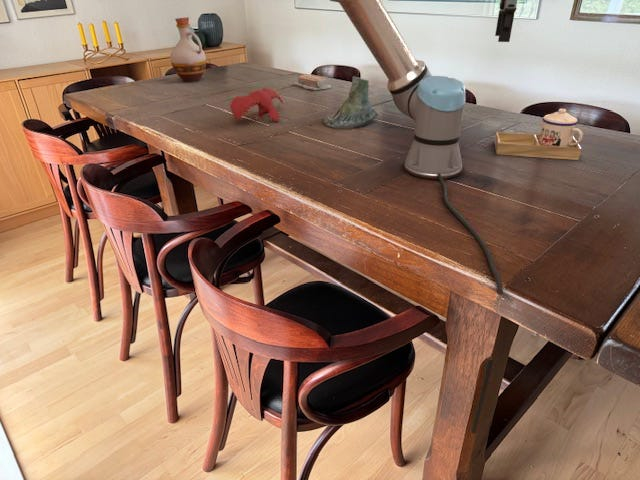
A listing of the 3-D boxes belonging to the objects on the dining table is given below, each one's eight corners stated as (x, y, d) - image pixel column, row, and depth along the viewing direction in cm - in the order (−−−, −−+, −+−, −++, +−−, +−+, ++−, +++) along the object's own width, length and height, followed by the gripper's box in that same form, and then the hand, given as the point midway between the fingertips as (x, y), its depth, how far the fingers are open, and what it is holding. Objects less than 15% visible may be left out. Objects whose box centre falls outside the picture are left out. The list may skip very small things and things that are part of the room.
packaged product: (331, 77, 213) (313, 80, 208) (331, 88, 215) (313, 91, 211) (310, 72, 226) (293, 74, 221) (310, 82, 228) (293, 85, 224)
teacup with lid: (529, 147, 135) (538, 108, 129) (547, 142, 140) (556, 103, 134) (568, 159, 127) (579, 117, 121) (585, 152, 131) (597, 112, 125)
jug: (218, 79, 239) (210, 16, 224) (193, 85, 226) (183, 19, 211) (192, 76, 249) (182, 15, 233) (166, 82, 236) (155, 18, 220)
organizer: (578, 160, 128) (581, 148, 126) (496, 154, 133) (498, 143, 132) (570, 147, 137) (573, 136, 136) (494, 142, 143) (496, 131, 141)
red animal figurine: (289, 122, 182) (266, 91, 181) (302, 108, 175) (279, 76, 174) (244, 142, 161) (218, 107, 160) (258, 127, 155) (231, 91, 154)
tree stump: (314, 119, 171) (323, 69, 164) (360, 126, 179) (371, 79, 172) (333, 130, 155) (344, 75, 149) (382, 136, 163) (395, 85, 157)
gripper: (540, -58, 101) (521, 44, 112) (527, -53, 122) (512, 33, 133) (505, -57, 103) (489, 44, 114) (498, -52, 124) (485, 33, 135)
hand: (501, 38), depth 123 cm, fingers open, 13 cm apart
